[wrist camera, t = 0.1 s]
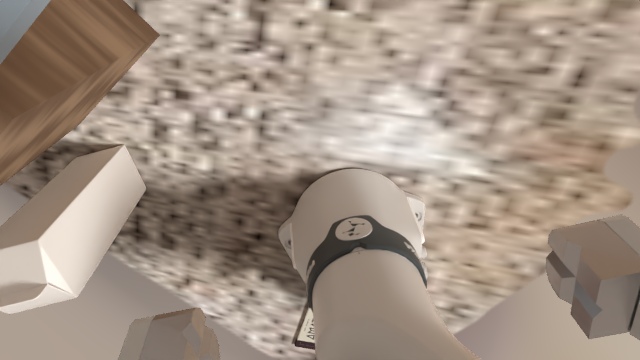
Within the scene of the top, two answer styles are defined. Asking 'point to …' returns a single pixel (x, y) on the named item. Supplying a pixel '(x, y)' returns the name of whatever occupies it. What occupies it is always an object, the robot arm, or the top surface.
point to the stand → (64, 73)
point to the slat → (17, 21)
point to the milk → (66, 230)
